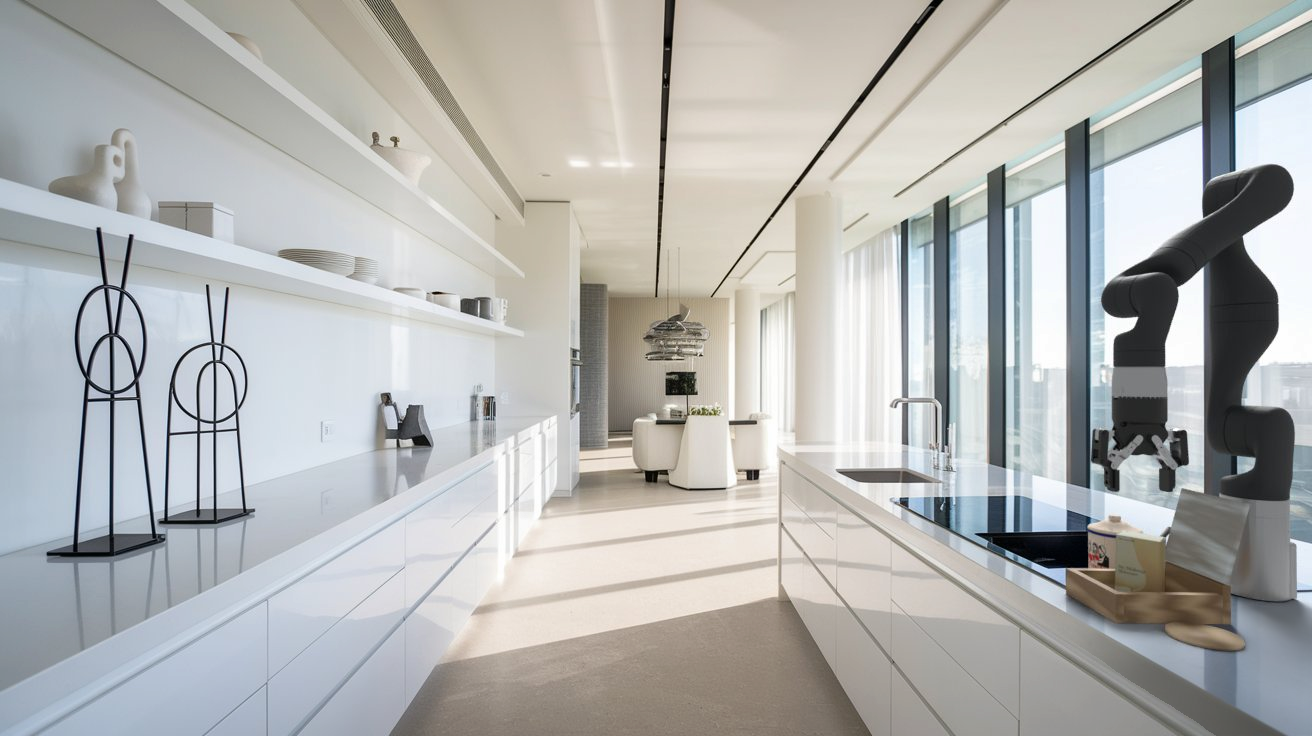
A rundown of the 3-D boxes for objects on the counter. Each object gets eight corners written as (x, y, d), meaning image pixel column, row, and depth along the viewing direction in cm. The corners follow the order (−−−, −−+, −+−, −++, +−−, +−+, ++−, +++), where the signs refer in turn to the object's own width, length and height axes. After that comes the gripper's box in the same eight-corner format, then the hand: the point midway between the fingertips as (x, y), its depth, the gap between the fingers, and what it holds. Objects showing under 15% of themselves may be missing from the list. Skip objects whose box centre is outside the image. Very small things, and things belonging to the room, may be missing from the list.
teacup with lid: (1077, 567, 130) (1077, 509, 130) (1126, 569, 129) (1125, 510, 129) (1112, 587, 118) (1111, 523, 119) (1166, 589, 117) (1165, 524, 117)
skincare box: (1113, 606, 109) (1113, 533, 109) (1120, 600, 112) (1119, 529, 112) (1161, 616, 104) (1160, 540, 104) (1167, 610, 107) (1166, 536, 107)
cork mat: (1210, 626, 101) (1210, 622, 101) (1262, 651, 92) (1261, 646, 92) (1150, 625, 101) (1150, 621, 101) (1195, 650, 92) (1195, 645, 92)
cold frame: (1182, 593, 115) (1181, 486, 115) (1252, 624, 101) (1251, 503, 101) (1063, 591, 116) (1062, 486, 116) (1115, 622, 102) (1114, 502, 102)
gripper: (1166, 393, 112) (1166, 487, 112) (1081, 393, 113) (1081, 487, 112) (1201, 395, 104) (1201, 496, 104) (1109, 394, 105) (1110, 495, 105)
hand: (1139, 491), depth 108 cm, fingers open, 8 cm apart
